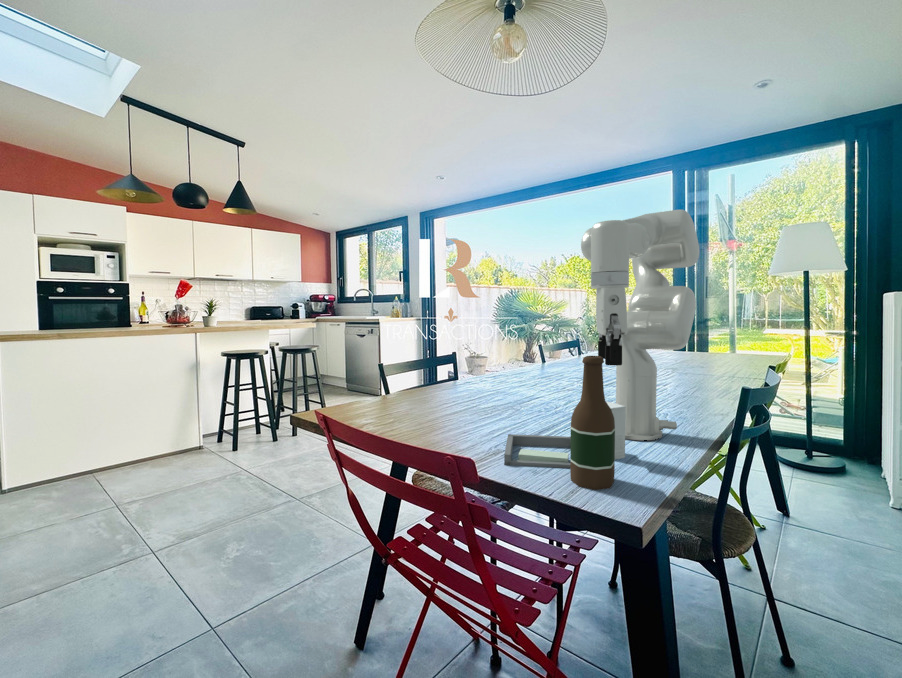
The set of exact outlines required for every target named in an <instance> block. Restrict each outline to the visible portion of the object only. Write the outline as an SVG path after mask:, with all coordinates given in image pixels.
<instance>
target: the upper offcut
mask: <svg viewBox="0 0 902 678" xmlns="http://www.w3.org/2000/svg"><path fill="white" fill-rule="evenodd" d="M517 455H518V457H517V458H518V459H517V460H523V461H543V462H564V463H569V452H561V451H560V452H559V451H546V450H537V449H536V450H534V449H525V448H524V449H523V448H522V449H519V452H518V454H517Z"/></svg>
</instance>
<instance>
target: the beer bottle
mask: <svg viewBox="0 0 902 678" xmlns="http://www.w3.org/2000/svg"><path fill="white" fill-rule="evenodd" d="M582 363H583V373H582V374H583V375H582V386H581V387H582V389H581V396H580V401H578V402H577V405H576V406H575V407H574V409H573V412H572V415H571V417H570V418H571V420H570V437H571V448H570V463H571V468H569V469H570V481H571V482H572V483H573V484H575V485H576V486H577V487H579V488H583V489H588V490H593V491H598V490H599V491H601V490H608V489H611V488H612V486H613V485H614V483H615V471H616V470H615V465H616V463H615V462H616V461H615V421H614V416H613V413H612V410H611V408H610V407H609V406H608V404H607V403H606V397H605V389H604V388H605V387H604V373H603V372H604V371H603V364H604V363H605V359H603V357H601V356H598V355H586V356H583V359H582Z"/></svg>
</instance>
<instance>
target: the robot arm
mask: <svg viewBox="0 0 902 678" xmlns="http://www.w3.org/2000/svg"><path fill="white" fill-rule="evenodd" d="M580 250H581V253H582V255H583V257H584V258H585V259H586V260H588V261H590V289H592V290H596V293H595V294H596V295H595V296H596V297H595V298H596V300H595V303H596V304H595V310H596V311H595V312H596V313H595V317H596V318H595V319H596V322H595V323H596V331H597V333H598V341H597V356H601V357H603V360H604V363H605V365H606V366H615V367H616V370H615V371H616V372H615V373H616V374H615V375H616V377H615V403H616V404H619V405H622V406H625V407H626V421H625V440H632V441H644V440H647V441H656V440H659V439H661V438H662V437H663V430H664V429H667V430H677V428H678V425H677V424H678V423H677V422H676V421H671V420H670V421H669V420H668V419H659V418H658V417H657V381H658V380H657V379H658V378H657V377H658V376H657V374H658V371H657V370H658V367H657V363H656V362H655V360H654V359H653V357H652V356H651V355H650V353H649V352H648V350H664V351H665V350H666V351H667V350H668V351H670V350H672V351H675V350H676V351H678V350H681V349H683V348H685V347H686V346H687V344H688V342H689V339H690V337H691V332H692V327H693V323H694V319H695V315H696V307H697V301H696V295H695V293H694V291H693V290H692V289H691V288H690V287H688V286H684V285H670V282H669V280H668V279H667V278H666V277H665V275H663V274H662V272H660V271H659V270H667V269H682V268H683V269H684V268H690V267H692V266H695V265H696V263H697V262H698V261H699V257H700V244H699V240H698V235H697V231H696V227H695V223H694V221H693V218H692V216H691V215H690V213H689V212H688V211H686V210H684V209H674V210H665V211H657V212H651V213H649V212H648V213H644V214H641V215H639V216H638V215H637V216H635V217H632V218H627V219H623V220H621V219H608V220H602V221H598V222H596V223H594V224H593V225H592V226H591V227H590V228H588V229H586V231H585V232H584V233H583V235H582V238H581V241H580ZM630 259H631V263H632V264H631V267H632V272H633V277H634V279H635V283H636V285H635V287H634V289H633V292H632V294H631V296H630V300H629V302H628V308H627V294H626V288H629V287H630V285H629V284H630V272H629V271H630ZM627 309H628V310H627ZM658 438H659V439H658ZM655 439H656V440H655Z"/></svg>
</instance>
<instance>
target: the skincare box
mask: <svg viewBox="0 0 902 678" xmlns="http://www.w3.org/2000/svg"><path fill="white" fill-rule="evenodd" d="M605 401H606V400H605ZM606 403H607V404H608V406H609V407H610V408H611V410H612V413H613V416H614V421H615V460H620V459H626V439H625V421H626V407H625V406H622V405H619V404H616V402H610V401H606Z"/></svg>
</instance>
